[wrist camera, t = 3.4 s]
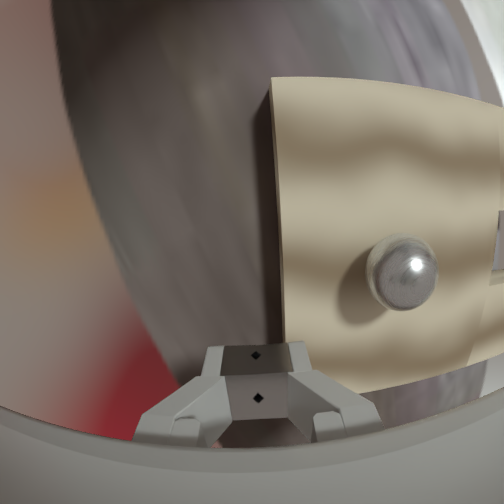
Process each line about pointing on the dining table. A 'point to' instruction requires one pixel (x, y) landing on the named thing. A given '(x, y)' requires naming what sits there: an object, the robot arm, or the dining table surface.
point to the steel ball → (401, 272)
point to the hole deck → (386, 224)
